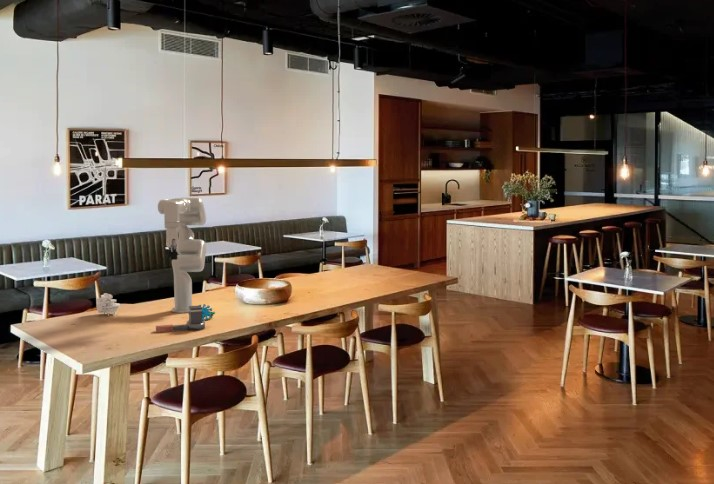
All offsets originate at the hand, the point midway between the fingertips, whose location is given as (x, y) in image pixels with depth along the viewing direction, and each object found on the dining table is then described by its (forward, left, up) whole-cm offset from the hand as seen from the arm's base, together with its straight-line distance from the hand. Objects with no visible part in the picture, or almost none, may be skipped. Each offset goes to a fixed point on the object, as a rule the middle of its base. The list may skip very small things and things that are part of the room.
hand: (172, 258), depth 333 cm
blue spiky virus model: (0, +15, -34) cm, 37 cm away
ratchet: (+19, +1, -33) cm, 38 cm away
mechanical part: (-28, -31, -34) cm, 54 cm away
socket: (+19, +8, -30) cm, 37 cm away
